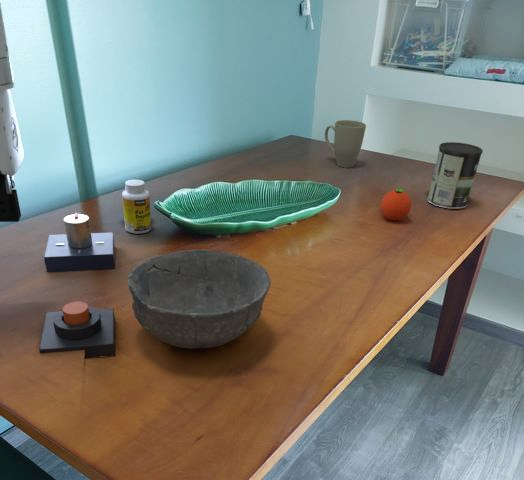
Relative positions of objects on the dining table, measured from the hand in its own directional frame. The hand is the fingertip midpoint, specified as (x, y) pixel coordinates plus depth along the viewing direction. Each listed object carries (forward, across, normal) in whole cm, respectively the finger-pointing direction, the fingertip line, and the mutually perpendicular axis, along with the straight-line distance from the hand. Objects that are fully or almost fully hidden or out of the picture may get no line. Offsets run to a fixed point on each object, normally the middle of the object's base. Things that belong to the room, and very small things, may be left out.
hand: (8, 219), depth 74 cm
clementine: (+15, +37, -77) cm, 87 cm away
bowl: (+16, -7, -26) cm, 32 cm away
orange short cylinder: (+13, -6, -8) cm, 16 cm away
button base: (+17, -6, -8) cm, 19 cm away
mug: (+15, +80, -79) cm, 113 cm away
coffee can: (+15, +46, -96) cm, 108 cm away
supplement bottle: (+17, +35, -18) cm, 43 cm away
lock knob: (+14, +22, -7) cm, 27 cm away
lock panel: (+17, +22, -7) cm, 28 cm away
